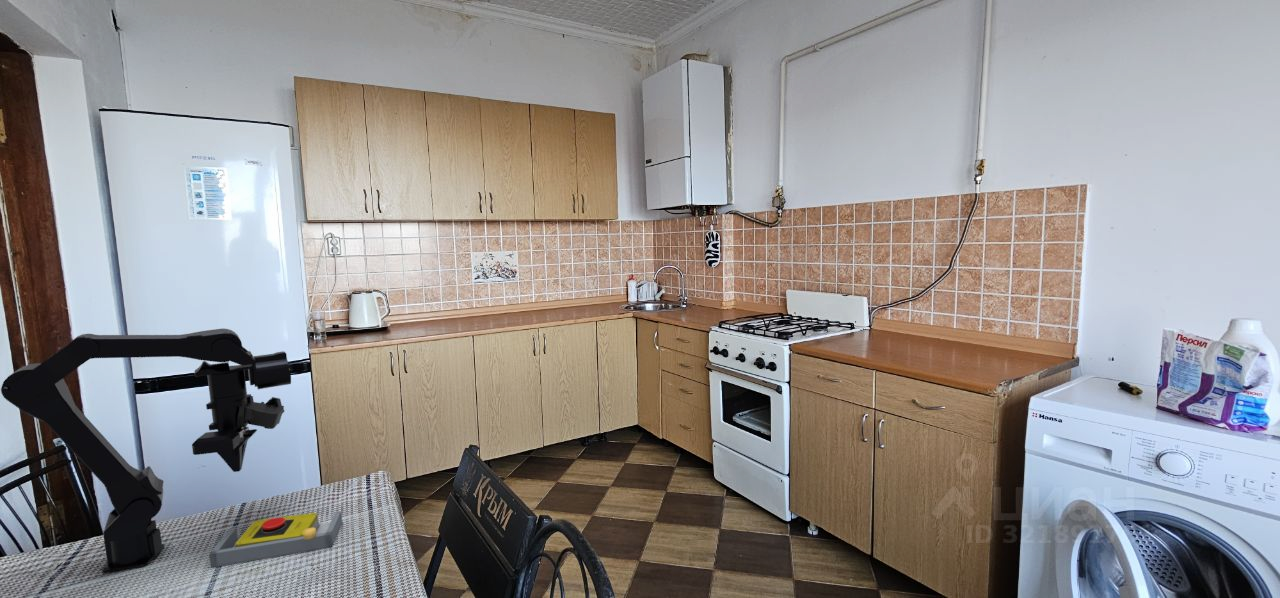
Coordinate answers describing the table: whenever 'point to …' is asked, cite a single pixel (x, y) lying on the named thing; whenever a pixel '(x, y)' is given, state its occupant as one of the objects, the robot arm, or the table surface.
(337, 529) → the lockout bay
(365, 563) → the table surface
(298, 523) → the emergency button
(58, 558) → the table surface
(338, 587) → the table surface
